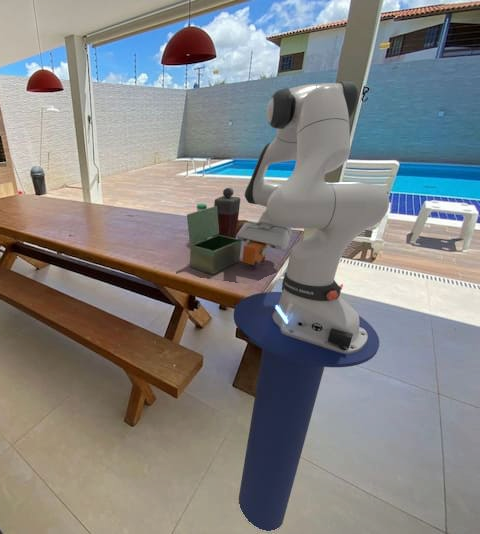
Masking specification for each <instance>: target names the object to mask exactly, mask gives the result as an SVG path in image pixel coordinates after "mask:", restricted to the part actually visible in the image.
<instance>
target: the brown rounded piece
mask: <svg viewBox="0 0 480 534" xmlns="http://www.w3.org/2000/svg"><path fill="white" fill-rule="evenodd" d="M249 221H250V220H247V219H238V224H237V233H236V234H238V232H239V231H240V229H241V228H242V227H243V225H244V223H246V222H249Z"/></svg>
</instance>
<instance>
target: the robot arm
mask: <svg viewBox="0 0 480 534" xmlns="http://www.w3.org/2000/svg"><path fill="white" fill-rule="evenodd" d="M358 102H359V89H358V87H357V86H356V84H355V83H354V82H350V81H339V82H326V83H309V84H303V85H298V86H294V87H293V86H292V87H290V88H289V87H285V88H282V89H279V90H277V91H275V92H274V93H273V94H272V95H271V97H270V100H269V102H268V104H267V107H266V118H267V121H268V125H269V126H270V127H272V128H273V129H276V134H275V137H274V139H273V140H272V141H271V142H268V143H266V144H265V146H264V147H263V149H262V151H261V153H260V155H259V156H258V159H257V162H256V165H255V167H254V170H253V172H252V174H251V177H250V180H249V182H248V184H247V186H246V188H245V191H244V197H245V199H246V201H247V203H248V204H251V205H259V206H262V207H266V208H265V210H264V212H262V213H261V216H260V217H259V219H258V221H251V220H248V221H249V222H246V223H244V225H243V227H242V228H241V229H240V231H239V232H238V233H236V238H237V239H239V240H242V242H244V243H245V245H247V244H250V243H252V242H254V241H256V242H260V243H265V244H266V248H265V249H264V250H261V251H260V253H259V254H260V255H262V256H264V255H265V253H266V254H267V253H268V252H269V251H271V249H275V250H280V251H284V250H286V249H287V248H288V246H289V244H290V241H291V236H292V234H293V230H292V229H316V230H315V232H314V233H312V235H310V236H308V237H306V238H305V239H302V240H300V241H298V242H297V243H295V244H294V245H293V246H292V248H291V249H290V250H289V251H290V252H289V257H288V261H287V267H286V272H285V273H284V274H283V279H282V282H281V283H282V284H281V292H282V295H281V298H280V301H279V303H278V306H277V305H276V310H275V311H274V313H273V316H272V317H273V320H274V322H275V323H276V324H277V325H278V326H279V327H280V330H281V333H282V334H284V335H287V336H290V337H293V338H296V339H299V340H302V341H305V342H308V343H312V344H315V345H318V346H321V347H324V348H327V349H330V350H333V351H336V352H340V353H343V354H353V353H356V352H358V351H360V350H361V349H362V348H363V347H364V346H365V344H366V343H367V338H368V335H367V332H366V331H365V329H363V328H361V327H359V324H360V322H359V316H360V315H359V313H358V312H357V310H355V309H354V308H353V307H352V306H351V305H350V304H349V303H347V302H346V301H345V299H344V298H342V297H341V296H340V295H341V291H342V290H343V287H344V283H341V284H340V285H339V284H338V283H337V282H336V280H335V278H336V274H337V271H338V267H339V265H340V261H341V259H342V257H343V254H344V253H345V251H346V249H347V248H348V246H349V245H350V244H351V243H352V242H353V241H354V240H355V239H356V238H357V237H358V236H359V235H360V234H362V233H363V232H365V231H367V229H369V228H371V227H373V226H375V225H377V224H379V223H380V222H381V221H382V220H383V219H384V218H385V216H386V215H387V213H388V211H389V208H390V198H389V195H388V192H387V190H386V189H385V188H384V187H383V186H381V185H377V184H372V183H367V182H359V181H356V182H355V181H353V182H352V181H351V182H326V181H325V180H326V179H325V178H326V174H328V173H331V172H332V171H335V170H337V169H338V168H339V167H341V166H342V165H344V164H345V163H346V161H347V160H348V159H349V157H350V154H351V131H350V129H351V128H350V118H351V117H352V116H353V115H354V113H355V111H356V110H357V106H358ZM294 160H295V165H294V168H293V171H292V173H291V174H290V176H289V177H288V178H287V179H286V180H285V182H283V183H277V182H274V181H269V180H266V179H265V175H266V173H267V170H268V168H269V166H270V165H273V164H276V163H286V162H291V161H294ZM265 256H266V255H265Z"/></svg>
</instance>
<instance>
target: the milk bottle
mask: <svg viewBox="0 0 480 534" xmlns="http://www.w3.org/2000/svg"><path fill="white" fill-rule="evenodd" d="M207 208H208V205H207V204H206V203H198V204H197V205H196V212H197V211H201V210H204V209H207ZM206 239H208V238H206ZM206 239H204V240H206ZM201 241H203V240H201ZM201 241H199V242H201ZM196 243H198V242H196Z"/></svg>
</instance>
